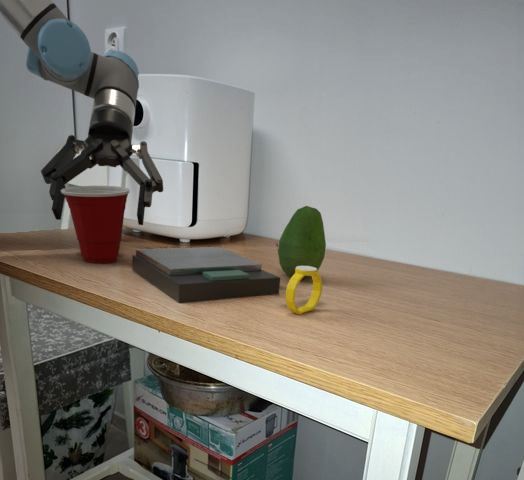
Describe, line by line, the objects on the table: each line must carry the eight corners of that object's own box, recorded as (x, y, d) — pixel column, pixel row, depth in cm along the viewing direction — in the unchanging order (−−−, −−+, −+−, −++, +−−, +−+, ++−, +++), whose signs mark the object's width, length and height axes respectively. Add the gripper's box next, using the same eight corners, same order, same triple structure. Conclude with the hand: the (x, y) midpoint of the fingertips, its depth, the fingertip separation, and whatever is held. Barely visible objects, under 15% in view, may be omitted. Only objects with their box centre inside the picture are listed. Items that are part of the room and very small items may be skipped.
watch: (308, 305, 68) (313, 263, 65) (323, 310, 66) (329, 267, 64) (279, 312, 64) (283, 267, 61) (295, 318, 62) (300, 272, 60)
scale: (132, 270, 79) (131, 248, 77) (220, 266, 87) (220, 246, 86) (178, 302, 64) (179, 276, 63) (278, 293, 72) (281, 270, 71)
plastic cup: (53, 256, 83) (47, 183, 79) (110, 251, 91) (107, 184, 86) (85, 269, 77) (81, 190, 72) (144, 263, 84) (143, 190, 80)
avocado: (330, 282, 82) (340, 209, 77) (292, 285, 78) (300, 208, 73) (303, 272, 88) (310, 203, 83) (266, 274, 84) (272, 202, 79)
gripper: (181, 145, 94) (174, 235, 86) (47, 134, 92) (27, 226, 83) (179, 113, 88) (172, 207, 79) (35, 99, 85) (12, 196, 76)
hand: (98, 217), depth 81 cm, fingers open, 13 cm apart
